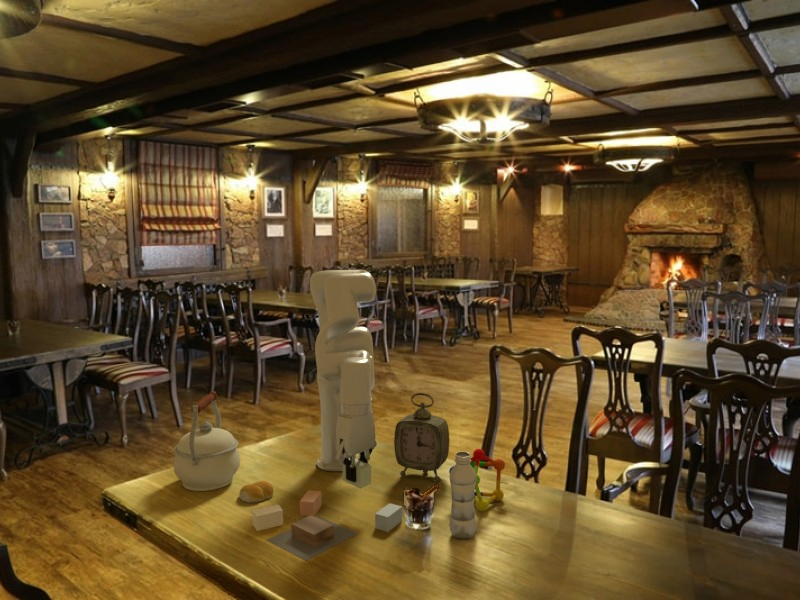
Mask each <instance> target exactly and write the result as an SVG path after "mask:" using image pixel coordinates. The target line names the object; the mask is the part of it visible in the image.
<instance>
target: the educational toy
mask: <svg viewBox="0 0 800 600" xmlns="http://www.w3.org/2000/svg"><path fill="white" fill-rule="evenodd" d="M483 460H485V461H486V462H485V461H483ZM470 465H471V466H472V467H473V469H474V471H475V473H476V476H477V477H476V485H475V493H474V503H475V504H476V505H475V506H476V508H477V510H478V511H479V512H487V511H488V509H489V504H490V503H492V502H493V501H496V502H500V501H502V500H503V499H504V495H505V494H504V491H502V490H501V477H502V475H501V474H502V471H503V470H504V469H505V467H506V463H505V461H504V460H503V459H502V458H496V459H493V458H491V457H489V456H487V455H486V452H485V451H484V449H481V448H476V449H475V450H474V451H473V453H472V456H471V463H470ZM454 466H455V465H453V466H451V467H450V468H449V470H448V472H449V475H450V472H451V470H452V468H453V467H454ZM480 466H481V467H493V468H494V470H496V483H495V485H496V487H495V489H494V490H493V491H492V492H486V491H485V492H483V491H482V492H481V490H480V487H479V484H480V482H481V478H480V476H479V474H478V471H479V467H480ZM483 497H489V498H487V499H484V498H483Z"/></svg>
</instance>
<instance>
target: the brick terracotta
mask: <svg viewBox="0 0 800 600" xmlns="http://www.w3.org/2000/svg"><path fill="white" fill-rule="evenodd" d="M322 494H323V493H322V491H320V490H319V491H317V490H307V492H306V493H305V494H304V495H303V496H302V498H301V499H300V500H299V516H301V517H302V516H306V517H308V516H310V515H312V516H314V517H315V516H316V514H317V513H318V511H319V510H320V508H321V507H322V506H323V502H322V500H323V499H322Z"/></svg>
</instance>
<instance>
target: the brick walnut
mask: <svg viewBox="0 0 800 600" xmlns="http://www.w3.org/2000/svg"><path fill="white" fill-rule="evenodd" d="M317 517H318V516H315V515H314V516H312V515H310V516H306V517H304V518H301V519H299V520H297V521H295V522H292V523H291V529H292V537H295V538H297V539H299V540H301V541H303V542H305V543H307V544H309V545H311V546H313V547H316V546H318V545H320V544H322V543H324V542H326V541H328V540H330V539H332V538H334V525H332V524H330V523H328V522H326V521H323V520H321V519H319V518H317Z"/></svg>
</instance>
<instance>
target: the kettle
mask: <svg viewBox="0 0 800 600" xmlns="http://www.w3.org/2000/svg"><path fill="white" fill-rule="evenodd" d="M217 398H218V395H217V393H216V391H210V392H209V393H208V394H207V395H205V396H204V397H202V398H201V399H200V400H199V401H197V403H195V404H192V406H191V408H190V409H191V412H192V423H191V428H190V432H188V433H186V434H184V435H183V436H182V437H181V438H180V439H179V440H178V443H177V444H176V445H175V446H174V449H173V451H174V453H175V457H174V460H173V471H174V474H175V476H176V478H178V479H179V480H180V481H181V482H182V486H183V487H184V488H185V489H187V490H189V491H194V492H208V491H210V492H211V491H214V490H218V489H219V490H220V489H221V488H224V487H227V486H228V485H230V484H231V482H232V481H233V480H234V476H235V474H236V473H237V472H238V470H239V468H240V466H241V456H240V452H239V449H238V446H239V442H238V439H236V438H235V437H234V435H233V434H232V433H231V432H230V431H228V430H226V429H224V428H222V419H221V418H222V417H221V413H220V410H219V408H218V406H217ZM209 405H211V407H212V409H213V411H214V414H215V421H216V422H215V427H214V426H213V425H212V423H211V422H209V421H206V420H205V421H203V422H202V423H201V424H200V425H199V426H198V423H199V413H201V412H202V410H204V409H206V408H207V407H208V406H209ZM197 428H198V429H197Z"/></svg>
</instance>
